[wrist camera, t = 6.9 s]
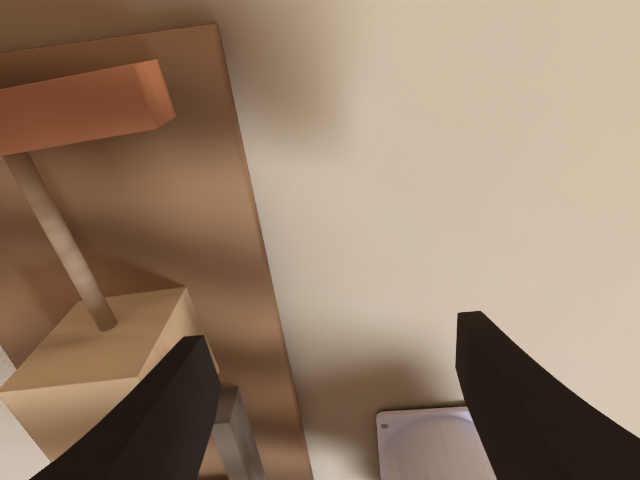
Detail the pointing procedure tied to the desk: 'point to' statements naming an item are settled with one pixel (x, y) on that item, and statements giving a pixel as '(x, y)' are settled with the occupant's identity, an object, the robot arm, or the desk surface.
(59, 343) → the block
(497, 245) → the desk surface
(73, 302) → the lane board
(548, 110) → the desk surface
